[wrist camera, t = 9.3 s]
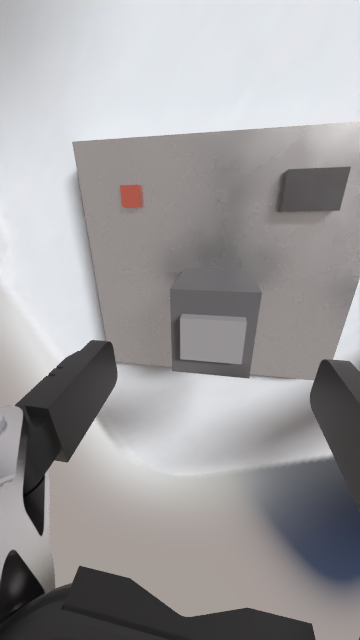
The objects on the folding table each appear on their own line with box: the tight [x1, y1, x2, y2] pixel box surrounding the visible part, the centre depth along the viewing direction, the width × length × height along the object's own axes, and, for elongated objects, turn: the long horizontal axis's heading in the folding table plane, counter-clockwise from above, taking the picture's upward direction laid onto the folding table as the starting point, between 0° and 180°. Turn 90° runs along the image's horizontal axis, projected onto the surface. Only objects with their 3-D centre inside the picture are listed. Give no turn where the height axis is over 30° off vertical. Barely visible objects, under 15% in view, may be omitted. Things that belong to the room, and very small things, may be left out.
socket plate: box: [72, 122, 360, 380], centre depth 16 cm, size 16×18×3 cm
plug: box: [170, 269, 262, 378], centre depth 15 cm, size 5×4×8 cm
